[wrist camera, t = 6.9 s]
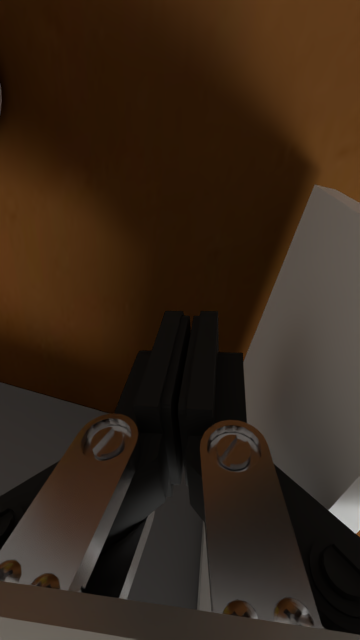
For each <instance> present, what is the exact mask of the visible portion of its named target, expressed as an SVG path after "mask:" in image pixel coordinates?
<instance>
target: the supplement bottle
mask: <svg viewBox="0 0 360 640" xmlns="http://www.w3.org/2000/svg"><path fill="white" fill-rule="evenodd" d="M1 103H2V97H1V85H0V114H1Z"/></svg>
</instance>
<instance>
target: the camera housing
mask: <svg viewBox="0 0 360 640" xmlns="http://www.w3.org/2000/svg"><path fill="white" fill-rule="evenodd" d="M106 414H109V413H106V412H102V411H99V410H95V409H92V408H88V407H85V406H81V405H78V404H74V403H71V402H67V401H64V400H60V399H57V398H53V397H50V396H46V395H43V394H39V393H36V392H32V391H29V390H25V389H22V388H19V387H15V386H12V385H8V384H5V383H1V382H0V496H1V495H3V494H5V493H6V492H8V491H10V490H11V489H13V488H15V487H16V486H18V485H20V484H21V483H23V482H25V481H26V480H28V479H30V478H31V477H33V476H35V475H36V474H38V473H40V472H41V471H43V470H45V469H46V468H48V467H50V466H51V465H53V464H55V463H56V462H58V461H60V460H61V458H62V457H63V455H64V454H65V452H66V451H67V449H68V448H69V446H70V445H71V443H72V442H73V440H74V439H75V437H76V436H77V434H78V433H79V431H80V430H81V429H82V428H83V427H84V426H85V425H86V424H87V423H88V422H90V421H91V420H93V419H95V418H97V417H99V416H101V415H106ZM202 528H203V520H202V519H201V518H200V516H199V515H198V514H197V513H196V511H195V510H194V509H193V508H192V506H191V505H190V499H189V489H188V486H186V482H185V473H184V466H183V473H182V481H181V484H180V485H175V484H174V488H173V494H172V497H166V500H165V503H163V504H162V505H161V506H160V507H158V508H157V509H156V510H155V513H154V519H153V522H152V525H151V528H150V531H149V534H148V537H147V540H146V543H145V546H144V549H143V552H142V555H141V558H140V561H139V564H138V567H137V570H136V573H135V576H134V579H133V582H132V585H131V588H130V591H129V594H128V597H127V600H134V601H141V602H147V603H154V604H161V605H167V606H174V607H181V608H188V609H194V610H197V601H198V586H199V572H200V557H201V543H202Z"/></svg>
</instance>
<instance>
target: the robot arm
mask: <svg viewBox="0 0 360 640" xmlns="http://www.w3.org/2000/svg"><path fill="white" fill-rule="evenodd" d="M183 466H184V473H185V482H186V486H188V489H189V499H190V505H191V506H192V508H193V509H194V510H195V511H196V513H197V514H198V515H199V516H200V518H201V519H202V520H203V521H204V523H205V535H206V548H207V561H208V574H209V587H210V599H211V612H208V611H201V610H194V609H188V608H181V607H174V606H167V605H161V604H154V603H147V602H141V601H134V600H127V597H128V594H129V591H130V588H131V585H132V582H133V579H134V576H135V573H136V570H137V567H138V564H139V561H140V558H141V555H142V552H143V549H144V546H145V543H146V540H147V537H148V534H149V531H150V528H151V525H152V522H153V519H154V513H155V510H156V509H157V508H158V507H160V506H161V505H162V504H163V503H165V500H166V497H172V494H173V488H174V484H175V485H180V484H181V481H182V473H183ZM0 640H360V537H359V536H358V535H356V534H355V533H354V532H353V531H352V530H351V529H349V528H348V527H347V526H346V525H345V524H344V523H342V522H341V521H340V520H339V519H338V518H337V517H335V516H334V515H333V514H332V513H331V512H330V511H328V510H327V509H326V508H325V507H324V506H323V505H321V504H320V503H319V502H318V501H317V500H316V499H314V498H313V497H312V496H311V495H310V494H309V493H307V492H306V491H305V490H304V489H303V488H302V487H301V486H299V485H298V484H297V483H296V482H295V481H294V480H292V479H291V478H290V477H289V476H288V475H287V474H285V473H284V472H283V471H282V470H281V469H280V468H278V467H277V466H276V465H275V464H274V463H273V460H272V456H271V453H270V450H269V446H268V444H267V442H266V440H265V438H264V436H263V435H262V434H261V433H260V431H259V430H258V429H257V428H255V427H253V426H252V425H250V424H248V423H247V415H246V399H245V383H244V366H243V353H225V352H219V345H218V311H201V312H200V316H194V318H193V323H192V329H191V327H190V316H184V314H183V311H165V313H164V316H163V319H162V322H161V325H160V328H159V331H158V334H157V337H156V340H155V343H154V346H153V349H152V351H139V353H138V354H137V357H136V359H135V362H134V364H133V367H132V369H131V372H130V374H129V377H128V379H127V382H126V385H125V387H124V390H123V392H122V395H121V397H120V400H119V402H118V405H117V407H116V410H115V412H114V413H111V414H106V415H101V416H99V417H97V418H95V419H93V420H91V421H90V422H88V423H87V424H86V425H85V426H84V427H83V428H82V429H81V430H80V431H79V433H78V434H77V436H76V437H75V439H74V440H73V442H72V443H71V445H70V446H69V448H68V449H67V451H66V452H65V454H64V455H63V457H62V458H61V460H60V461H58V462H56V463H55V464H53V465H51V466H50V467H48V468H46V469H45V470H43V471H41V472H40V473H38V474H36V475H35V476H33V477H31V478H30V479H28V480H26V481H25V482H23V483H21V484H20V485H18V486H16V487H15V488H13V489H11V490H10V491H8V492H6V493H5V494H3V495H1V496H0Z"/></svg>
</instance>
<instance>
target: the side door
mask: <svg viewBox="0 0 360 640" xmlns="http://www.w3.org/2000/svg"><path fill="white" fill-rule="evenodd" d="M243 366H244V383H245V399H246V415H247V423H248V424H250V425H252V426H253V427H255V428H257V429H258V430H259V431H260V433H261V434H262V435H263V436H264V438H265V440H266V442H267V444H268V446H269V450H270V453H271V456H272V460H273V463H274V464H275V465H276V466H277V467H278V468H280V469H281V470H282V471H283V472H284V473H285V474H287V475H288V476H289V477H290V478H291V479H292V480H294V481H295V482H296V483H297V484H298V485H299V486H301V487H302V488H303V489H304V490H305V491H306V492H307V493H309V494H310V495H311V496H312V497H313V498H314V499H316V500H317V501H318V502H319V503H320V504H321V505H323V506H324V507H325V508H326V509H327V510H328V511H330V512H331V513H332V514H333V515H334V516H335V517H337V518H338V519H339V520H340V521H341V522H342V523H344V524H345V525H346V526H347V527H348V528H349V529H351V530H352V531H353V532H354V533H355V534H356V533H357V532H358V531H359V530H360V203H358V202H357V201H355V200H353V199H351V198H350V197H348V196H346V195H344V194H343V193H341V192H339V191H337V190H335V189H331V188H327V187H322V186H318V185H314V188H313V190H312V193H311V195H310V198H309V200H308V203H307V205H306V208H305V210H304V213H303V215H302V217H301V220H300V222H299V225H298V227H297V230H296V232H295V235H294V237H293V240H292V242H291V245H290V247H289V250H288V252H287V255H286V257H285V260H284V262H283V265H282V267H281V270H280V272H279V275H278V277H277V280H276V282H275V285H274V287H273V290H272V292H271V295H270V297H269V300H268V302H267V305H266V307H265V310H264V312H263V315H262V317H261V320H260V322H259V325H258V327H257V329H256V332H255V334H254V337H253V339H252V342H251V344H250V347H249V349H248V352H247V354H246V357H245V359H244V362H243ZM197 610H201V611H208V612H211V599H210V587H209V574H208V561H207V548H206V535H205V523H204V521H203V528H202V543H201V557H200V572H199V586H198V601H197Z"/></svg>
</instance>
